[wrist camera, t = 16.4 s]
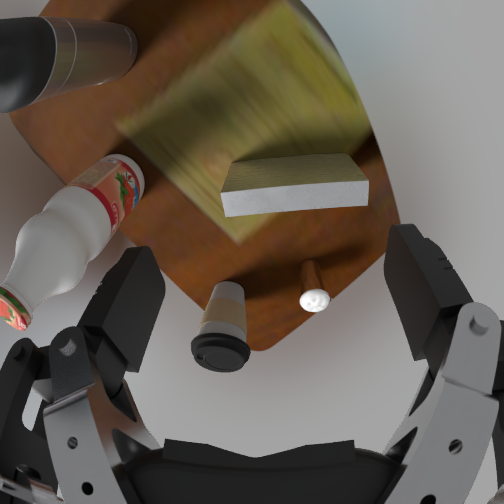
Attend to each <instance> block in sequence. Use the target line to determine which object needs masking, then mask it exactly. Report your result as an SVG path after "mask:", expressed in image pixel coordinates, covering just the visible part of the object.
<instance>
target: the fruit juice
mask: <svg viewBox="0 0 504 504" xmlns="http://www.w3.org/2000/svg"><path fill="white" fill-rule="evenodd" d="M144 186H145V182H144V176H143V173H142V171H141V169H140V167H139V166H138V165H137V164H136V162H134V161H133V160H132V159H131V158H129V157H127V156H125V155H121V154H112V155H108V156H106V157H104V158H102V159H100V160H99V161H98V162H96V163H95V164H93V165H92V166H91V167H89V168H88V169H87V170H85V171H84V172H83V173H81V174H80V175H79V176H78V177H76V178H75V179H74V180H72V181H71V182H70V183H69V184H67V185H66V186H65V187H64V188H63V189H61V190H60V191H59V192H58V193H57V194H55V195H54V196H53V197H52V198H51V199H50V201H49V202H48V203H47V204H46V206H45V208H44V210H43V212H42V213H40V214H38V215H36V216H34V217H32V218H31V219H29V220H28V222H27V223H26V224H25V225H24V226H23V227H22V229H21V231H20V232H19V235H18V237H17V242H16V255H15V259H14V262H13V264H12V267H11V269H10V272H9V274H8V276H7V277H6V279H5V281H4V282H3V283H0V316H1V317H2V318H3V319H4V320H5V321H6V322H7V323H8V324H10V325H11V326H13V327H14V328H16V329H18V330H25V329H27V327H28V326H29V325H30V323H31V320H32V319H33V312H34V310H35V309H36V307H37V306H39V305H40V304H41V303H42V302H43V301H45V300H46V299H47V298H49V297H50V296H53V295H56V294H60V293H64V292H67V291H69V290H71V289H72V288H73V287H75V286H76V285H77V283H78V282H79V281H80V280H81V278H82V276H83V274H84V272H85V269H86V266H87V263H88V262H89V261H91V260H92V259H94V258H95V257H96V256H97V255H98V254H99V253H100V252H101V250H102V249H103V248H104V247H105V245H106V244H107V242H108V241H109V240H110V238H111V237H112V235H113V234H114V233H115V231H116V230H117V229H118V227H119V226H120V225H121V224H122V222H123V221H124V220H125V218H126V217H127V216H128V215H129V213H130V212H131V211H132V209H133V208H134V207H135V206H136V204H137V203H138V202H139V200H140V199H141V197H142V195H143V192H144Z"/></svg>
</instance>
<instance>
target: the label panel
mask: <svg viewBox="0 0 504 504" xmlns="http://www.w3.org/2000/svg"><path fill="white" fill-rule="evenodd" d="M368 190H369V180H368V179H367V178H366V176H365V175H364V174H363V172H362V171H361V170H360V169H359V167H358V166H357V165H356V164H355V162H354V161H353V160H352V159H351V157H350V156H349V155H348V154H347V153H331V154H313V155H299V156H287V157H276V158H267V159H257V160H249V161H241V162H233V163H231V166H230V168H229V171H228V174H227V177H226V179H225V182H224V185H223V188H222V190H221V198H222V202H223V207H224V211H225V216H226V217H231V216H241V215H250V214H261V213H271V212H282V211H294V210H306V209H319V208H332V207H347V206H363V205H368Z"/></svg>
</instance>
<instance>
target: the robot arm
mask: <svg viewBox="0 0 504 504" xmlns="http://www.w3.org/2000/svg"><path fill="white" fill-rule="evenodd" d="M137 51H138V42H137V38H136V35H135V34H134V32H133V31H132V30H131V29H130V28H129V27H127V26H125V25H122V24H117V23H111V22H106V21H98V20H90V19H80V18H67V17H22V18H10V19H0V113H8V112H12V111H15V110H18V109H20V108H23V107H25V106H28V105H31V104H33V103H36V102H39V101H42V100H45V99H47V98H50V97H54V96H57V95H60V94H63V93H67V92H70V91H74V90H78V89H82V88H86V87H90V86H94V85H99V84H103V83H108V82H112V81H115V80H117V79H119V78H121V77H122V76H123V75H125V74H126V73H127V72H128V71H129V69H130V68H131V67H132V65H133V63H134V61H135V59H136V56H137ZM384 276H385V280H386V283H387V285H388V288H389V290H390V293H391V295H392V298H393V301H394V303H395V306H396V308H397V311H398V314H399V317H400V319H401V322H402V325H403V328H404V331H405V334H406V337H407V339H408V342H409V346H410V349H411V352H412V356H413V359H414V361H417V360H421V359H427V362H428V367H427V369H426V371H425V373H424V376H423V378H422V381H421V383H420V385H419V388H418V390H417V393H416V395H415V397H414V399H413V401H412V403H411V405H410V408H409V410H408V412H407V414H406V416H405V418H404V420H403V421H402V423H401V425H400V426H399V428H398V429H397V430H396V432H395V433H394V435H393V437H392V438H391V439H390V441H389V443H388V444H387V446H386V448H385V450H384V451H383V453H382V454H381V453H377V452H374V451H371V450H366V449H361V448H355V446H354V440H348V441H342V442H333V443H324V444H314V445H305V446H301V447H298V448H294V449H291V450H287V451H283V452H279V453H275V454H271V455H267V456H263V457H257V458H253V457H248V456H245V455H241V454H237V453H234V452H231V451H227V450H224V449H221V448H218V447H215V446H212V445H209V444H201V443H193V442H185V441H178V440H171V439H165V443H164V447H163V448H161V447H160V446H159V444H158V442H157V441H156V439H155V438H154V437H153V436H152V434H151V433H149V431H148V430H147V428H146V427H145V425H144V423H143V421H142V418H141V416H140V414H139V412H138V409H137V407H136V404H135V402H134V400H133V397H132V395H131V392H130V390H129V387H128V384H127V382H126V380H125V379H124V378H123V377H124V374H125V371H128V372H136V373H138V372H139V369H140V366H141V363H142V360H143V357H144V354H145V350H146V348H147V345H148V342H149V339H150V336H151V333H152V330H153V327H154V324H155V321H156V319H157V316H158V313H159V310H160V307H161V305H162V302H163V299H164V296H165V281H164V278H163V276H162V274H161V272H160V269H159V267H158V265H157V262H156V260H155V257H154V255H153V253H152V250H151V249H150V248H149V247H148V246H141V247H132V248H127V249H126V250H125V252H124V253H123V255H122V257H121V258H120V260H119V261H118V263H116V264H115V265H114V266H113V267H112V268H111V269H110V270H109V271H108V272H107V273H106V275H105V276H104V278H103V280H102V281H101V283H100V286H98V288H97V290H96V292H95V295H93V297H92V299H91V300H90V302H89V304H88V306H87V308H86V310H85V311H84V313H83V315H82V317H81V319H80V321H79V323H78V325H77V326H76V327H75V326H72V327H68V328H65V329H63V330H62V331H60V333H58V334H57V335H56V336H55V337H54V339H53V340H52V342H51V344H50V345H49V346H45V347H40V348H38V347H37V346H36V345H35V344H34V343H33V342H32V341H31V339H29V338H22V339H20V340H18V341H17V342H16V343H15V344H14V345H13V346H12V348H11V349H10V351H9V353H8V355H7V357H6V359H5V361H4V363H3V365H2V368H1V370H0V504H464V502H465V500H466V498H467V496H468V494H469V492H470V490H471V488H472V485H473V483H474V481H475V479H476V476H477V474H478V471H479V469H480V466H481V464H482V461H483V459H484V456H485V453H486V450H487V447H488V445H489V441H490V438H491V435H492V439H493V445H494V451H495V460H496V470H497V482H498V491H497V493H496V494H495V496H494V497H493V498H491V499H490V500H489V502H488V503H487V504H504V321H502V320H499V318H498V317H497V315H496V313H495V312H494V311H493V310H492V309H491V308H489V307H488V306H486V305H484V304H481V303H477V302H474V301H473V299H472V298H471V296H470V294H469V292H468V291H467V289H466V287H465V286H464V284H463V282H462V281H461V279H460V278H459V276H458V274H457V273H456V271H455V270H454V269H453V266H452V265H451V263H450V262H449V260H447V257H446V256H445V254H444V253H443V251H442V250H441V248H440V247H439V246H438V245H437V244H435V243H434V242H433V241H431V240H430V239H429V238H424V237H423V236H422V234H421V233H420V232H419V230H418V229H417V227H416V226H415V225H414V224H400V225H392V226H391V227H390V230H389V236H388V242H387V249H386V255H385V261H384ZM31 389H32V390H33V391H35V392H36V393H37V394H38V395H39V396H41V397H42V398H43V399H42V402H41V405H40V408H39V411H38V414H37V417H36V421H35V424H34V427H33V430H32V431H30V430H28V429H27V428H26V427H25V426H24V424H23V422H22V413H23V411H24V408H25V405H26V402H27V398H28V396H29V393H30V390H31ZM58 483H59V486H60V490H61V493H62V496H63V498H64V501H65V503H64V501H63V499H62V498H60V497H57V496H56V495H57V489H58Z"/></svg>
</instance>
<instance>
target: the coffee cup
mask: <svg viewBox="0 0 504 504" xmlns="http://www.w3.org/2000/svg"><path fill="white" fill-rule="evenodd" d="M246 338H247V331H246V310H245V299H244V290H243V288H242V287H241V286H240V285H239V284H237V283H234V282H230V281H223V282H219V283H218V284H217V285H216V286H215V287H214V290H213V292H212V295H211V298H210V301H209V303H208V304H207V306H206V309H205V312H204V315H203V318H202V320H201V323H200V326H199V329H198V334H197V337H195V338H194V339H193V340H192V342H191V351H192V354H193V355H194V359H195V361H196V362H197V363H198V364H199V365H200V366H202V367H204V368H206V369H208V370H212V371H216V372H234V371H237V370H239V369H241V368H242V367H243V366H244V364H245V363H246V362H247V361H248V359H249V356H250V353H251V352H250V348H249V346H248V345H247V344H246Z"/></svg>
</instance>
